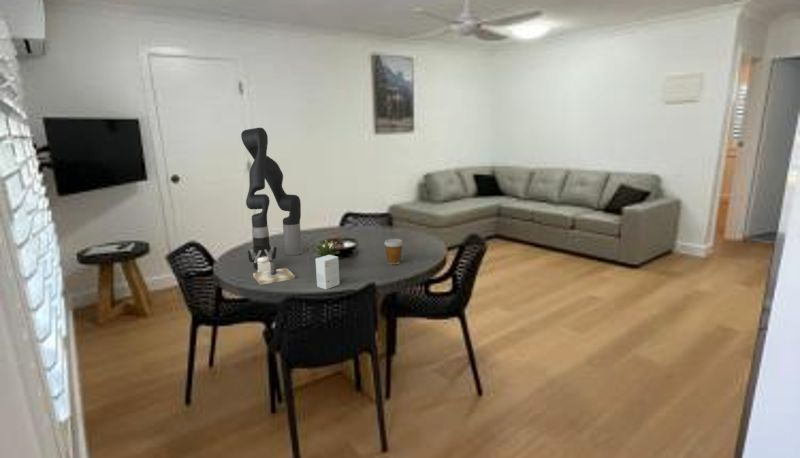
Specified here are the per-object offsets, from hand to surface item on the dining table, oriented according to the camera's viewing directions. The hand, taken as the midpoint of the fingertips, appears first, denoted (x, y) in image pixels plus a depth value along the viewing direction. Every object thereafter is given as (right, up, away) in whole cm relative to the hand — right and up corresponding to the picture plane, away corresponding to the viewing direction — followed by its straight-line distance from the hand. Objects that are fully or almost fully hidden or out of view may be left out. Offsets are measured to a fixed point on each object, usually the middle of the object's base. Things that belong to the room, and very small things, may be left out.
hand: (263, 268), depth 219 cm
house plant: (+32, -2, -2) cm, 32 cm away
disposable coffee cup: (+64, +1, +11) cm, 65 cm away
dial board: (+8, -3, -9) cm, 12 cm away
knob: (0, -1, 0) cm, 1 cm away
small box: (+35, -6, -21) cm, 41 cm away
